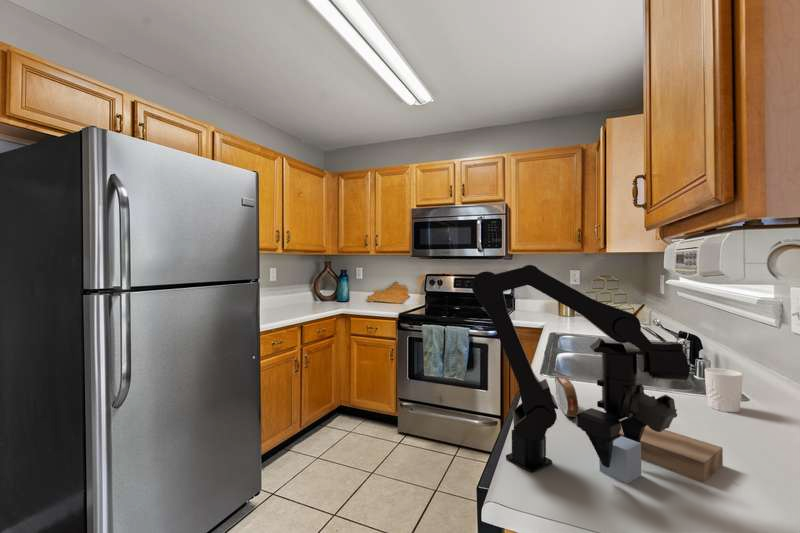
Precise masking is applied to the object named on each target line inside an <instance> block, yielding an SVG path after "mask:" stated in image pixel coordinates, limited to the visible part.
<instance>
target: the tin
mask: <svg viewBox="0 0 800 533" xmlns="http://www.w3.org/2000/svg"><path fill="white" fill-rule="evenodd" d="M554 382H555V395H556V400H557V401H556V402H557V405H558V407H559V408H560V409H561V411H562V413H563V414H564V416H565V417H567V418H576V415H577V414H579V402H578V395H577V392H576V388H575V386H574V384H573V383H572V382H571V380H569V378H568V377H567V376H566V375H561V376H560V375H559V376H558V375H557V376H555V378H554Z"/></svg>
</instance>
